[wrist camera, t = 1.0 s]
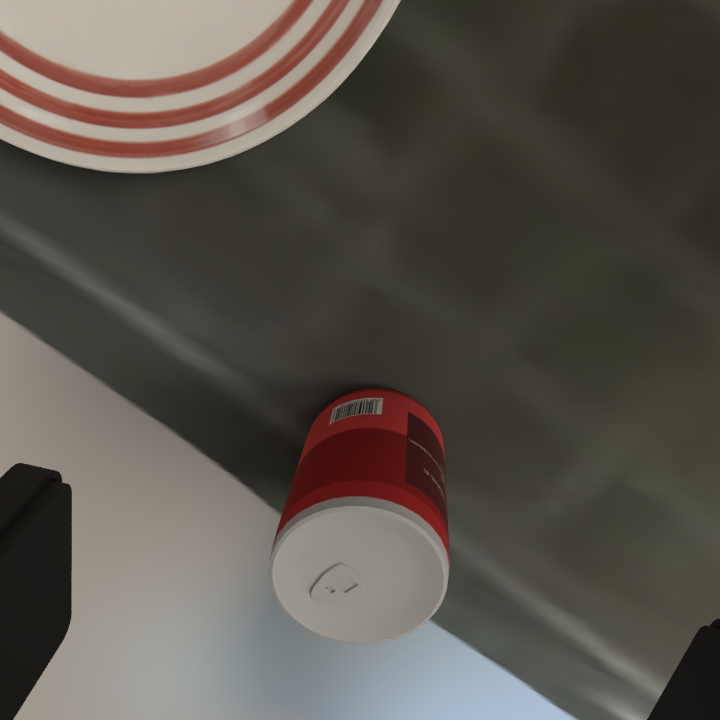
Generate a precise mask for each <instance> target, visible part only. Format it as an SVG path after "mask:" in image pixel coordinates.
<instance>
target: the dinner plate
mask: <svg viewBox="0 0 720 720" xmlns="http://www.w3.org/2000/svg"><path fill="white" fill-rule="evenodd" d="M400 1H401V0H0V139H1V140H4V141H6V142H8V143H10V144H12V145H14V146H17V147H19V148H22V149H24V150H27V151H29V152H32V153H34V154H36V155H39V156H42V157H45V158H48V159H51V160H54V161H58V162H62V163H65V164H69V165H73V166H78V167H82V168H88V169H93V170H99V171H106V172H117V173H158V172H167V171H174V170H181V169H188V168H192V167H197V166H202V165H207V164H210V163H214V162H217V161H220V160H223V159H226V158H229V157H232V156H235V155H237V154H239V153H242V152H244V151H246V150H249V149H251V148H253V147H255V146H257V145H259V144H261V143H263V142H265V141H267V140H269V139H270V138H272V137H274V136H275V135H277V134H279V133H281V132H282V131H284V130H286V129H287V128H289V127H290V126H292V125H293V124H294V123H296V122H297V121H299V120H300V119H301V118H303V117H304V116H306V115H307V114H308V113H309V112H311V111H312V110H313V109H314V108H316V107H317V106H318V105H319V104H320V103H322V102H323V101H324V100H325V99H326V98H328V97H329V96H330V95H331V94H332V93H333V92H334V91H335V90H336V89H337V88H338V87H339V86H340V85H341V84H342V82H343V81H344V80H345V79H346V78H347V77H348V76H349V75H350V73H351V72H352V71H353V70H354V69H355V68H356V66H357V65H358V64H359V63H360V61H361V60H362V59H363V57H364V56H365V55H366V54H367V52H368V51H369V50H370V48H371V47H372V46H373V44H374V43H375V41H376V40H377V38H378V37H379V35H380V34H381V32H382V31H383V29H384V28H385V26H386V25H387V23H388V22H389V20H390V19H391V17H392V15H393V13H394V12H395V10H396V8H397V6H398V4H399V2H400Z"/></svg>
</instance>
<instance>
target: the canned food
mask: <svg viewBox="0 0 720 720" xmlns="http://www.w3.org/2000/svg"><path fill="white" fill-rule="evenodd" d="M448 575H449V537H448V517H447V496H446V476H445V456H444V444H443V438H442V434H441V432H440V429H439V427H438V425H437V423H436V422H435V420H434V419H433V418H432V416H431V415H430V413H429V412H428V411H427V409H426V408H424V407H423V406H422V405H421V404H420V403H419V402H418V401H416V400H415V399H413V398H411V397H410V396H408V395H406V394H403V393H400V392H398V391H395V390H389V389H384V388H368V389H362V390H356V391H354V392H351V393H348V394H345V395H343V396H342V397H340V398H338V399H337V400H335V401H334V402H332V403H331V404H330V405H329V406H328V407H327V408H326V409H324V410H323V411H322V412H321V413H320V414H319V416H318V417H317V418H316V420H315V421H314V422H313V424H312V426H311V428H310V431H309V433H308V435H307V439H306V442H305V445H304V448H303V451H302V454H301V457H300V460H299V464H298V467H297V470H296V473H295V476H294V479H293V482H292V485H291V488H290V492H289V495H288V498H287V501H286V504H285V507H284V510H283V513H282V516H281V520H280V523H279V526H278V529H277V533H276V537H275V540H274V543H273V547H272V552H271V557H270V565H269V579H270V580H269V581H270V585H271V588H272V591H273V594H274V596H275V598H276V600H277V601H278V603H279V605H280V606H281V608H282V609H283V610H284V611H285V612H286V613H287V614H288V616H289V617H290V618H291V619H293V620H294V621H295V622H297V623H298V624H299V625H301V626H302V627H304V628H306V629H307V630H309V631H311V632H313V633H315V634H317V635H319V636H322V637H325V638H328V639H331V640H335V641H341V642H346V643H362V644H368V643H378V642H384V641H388V640H392V639H396V638H399V637H401V636H403V635H406V634H408V633H410V632H412V631H414V630H415V629H417V628H418V627H420V626H421V625H423V624H424V623H425V622H426V621H428V620H429V619H430V618H431V617H432V616H433V615H434V614H435V612H436V611H437V609H438V608H439V606H440V605H441V603H442V601H443V599H444V596H445V593H446V590H447V583H448Z"/></svg>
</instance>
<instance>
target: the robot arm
mask: <svg viewBox="0 0 720 720" xmlns="http://www.w3.org/2000/svg"><path fill="white" fill-rule="evenodd" d="M71 516H72V491H71V487H70V485H69V484H66V483H62V477H61V475H60V473H59V472H57V471H54V470H50V469H45V468H41V467H36V466H32V465H28V464H23V463H19V464H15V465H14V466H13V467H11V468H10V469H9V470H8V471H7V472H6V473H5V474H4V475H3V476H2V477H1V478H0V720H13V719H14V717H15V716H16V714H17V713H18V711H19V709H20V708H21V706H22V705H23V703H24V702H25V700H26V698H27V697H28V695H29V693H30V692H31V690H32V689H33V687H34V686H35V684H36V682H37V681H38V679H39V678H40V676H41V675H42V673H43V671H44V670H45V668H46V667H47V665H48V663H49V662H50V660H51V659H52V657H53V655H54V654H55V652H56V651H57V649H58V648H59V646H60V644H61V643H62V641H63V639H64V637H65V635H66V633H67V631H68V628H69V625H70V620H71V571H72V570H71V569H72V567H71V564H72V563H71V562H72V551H71V550H72V525H71V524H72V522H71V521H72V517H71ZM647 720H720V619H717V620H715V621H713V622H712V624H711V625H710V626H703V627H701V628H700V629H699V631H698V632H697V634H696V635H695V637H694V639H693V641H692V642H691V644H690V646H689V648H688V649H687V651H686V653H685V654H684V656H683V658H682V660H681V661H680V663H679V665H678V667H677V668H676V670H675V672H674V674H673V675H672V677H671V679H670V681H669V682H668V684H667V686H666V688H665V689H664V691H663V693H662V695H661V696H660V698H659V700H658V702H657V703H656V705H655V707H654V709H653V710H652V712H651V714H650V716H649V717H648V719H647Z"/></svg>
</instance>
